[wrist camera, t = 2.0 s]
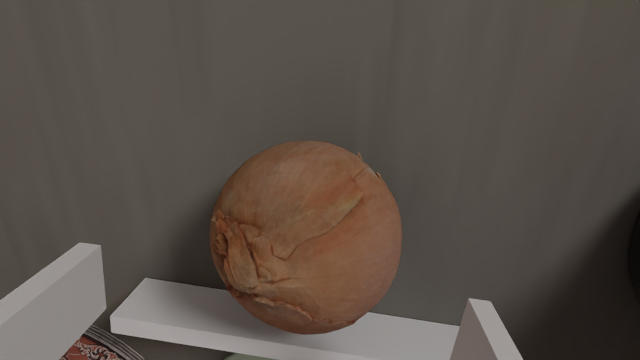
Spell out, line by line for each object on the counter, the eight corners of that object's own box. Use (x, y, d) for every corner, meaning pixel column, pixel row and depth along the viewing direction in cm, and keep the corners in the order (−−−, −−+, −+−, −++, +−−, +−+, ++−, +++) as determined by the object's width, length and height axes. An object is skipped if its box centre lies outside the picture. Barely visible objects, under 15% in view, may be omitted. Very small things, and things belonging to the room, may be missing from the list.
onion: (265, 190, 26) (133, 244, 18) (350, 94, 21) (218, 107, 13) (351, 302, 25) (248, 416, 17) (465, 226, 20) (397, 338, 11)
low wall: (465, 327, 25) (485, 376, 21) (461, 341, 25) (480, 391, 22) (145, 277, 26) (109, 316, 22) (145, 292, 26) (111, 332, 23)
